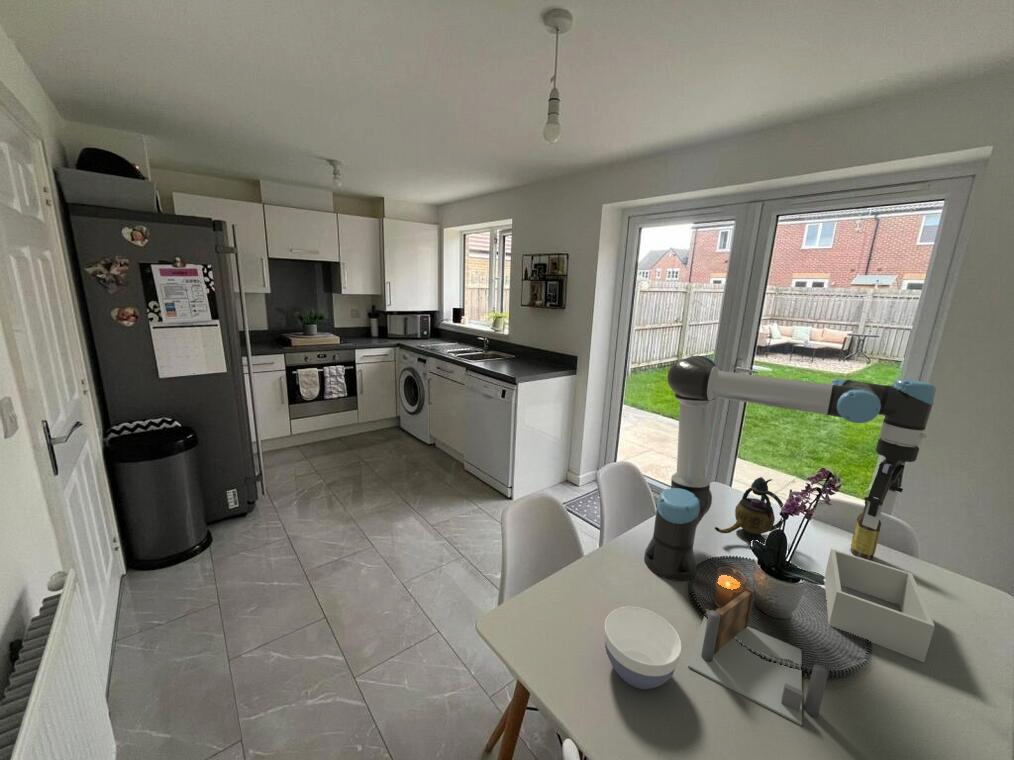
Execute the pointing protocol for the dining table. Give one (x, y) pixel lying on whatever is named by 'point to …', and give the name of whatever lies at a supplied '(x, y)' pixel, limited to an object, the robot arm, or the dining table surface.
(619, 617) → the bowl
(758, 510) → the teapot
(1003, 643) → the dining table surface
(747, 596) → the gate
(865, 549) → the sauce bottle
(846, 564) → the box
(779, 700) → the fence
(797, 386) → the robot arm
